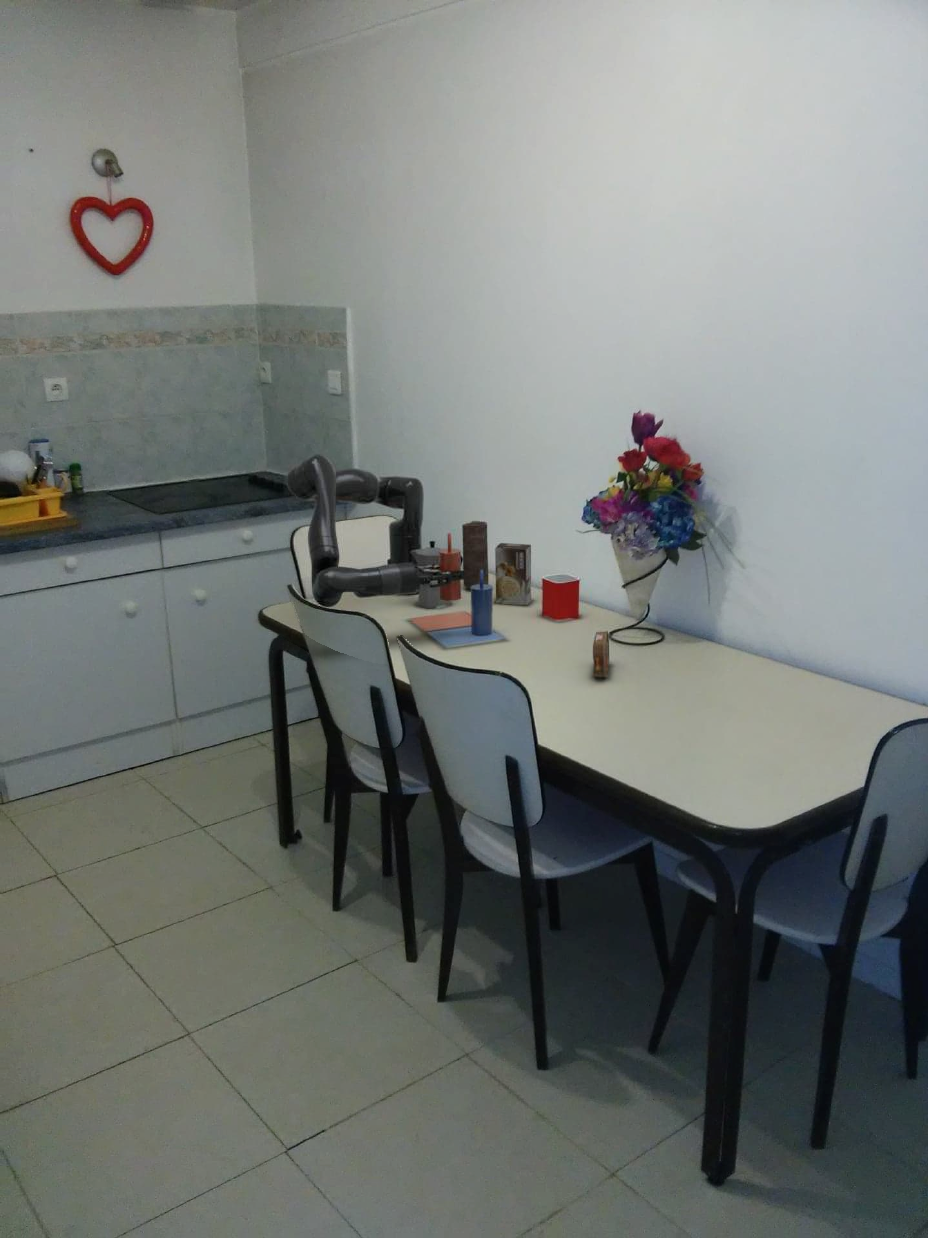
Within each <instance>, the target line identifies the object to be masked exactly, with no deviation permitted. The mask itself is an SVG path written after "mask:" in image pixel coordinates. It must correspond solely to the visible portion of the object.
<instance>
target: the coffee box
mask: <svg viewBox="0 0 928 1238" xmlns="http://www.w3.org/2000/svg"><path fill="white" fill-rule="evenodd" d="M494 549H495V550H494V555H495V556H494V559H495V560H494V561H495V563H494V564H495V604H498V605H499V604H500V605H513V606H514V605H516V606H528V604H530V602H531V601H532V545H531V544H526V543H525V544H524V543H508V542H507V543H506V542H505V543H504V542H500V543H499V544H497V545H496V547H495V548H494Z"/></svg>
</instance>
